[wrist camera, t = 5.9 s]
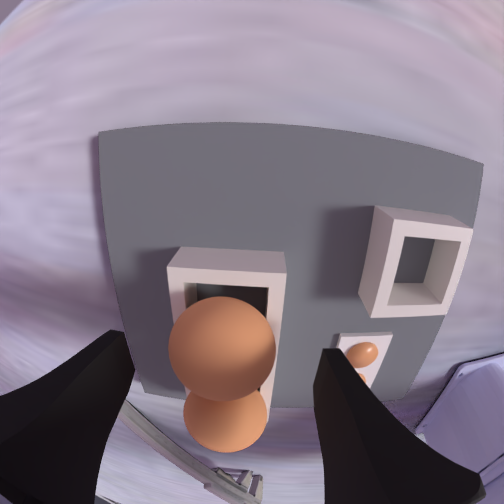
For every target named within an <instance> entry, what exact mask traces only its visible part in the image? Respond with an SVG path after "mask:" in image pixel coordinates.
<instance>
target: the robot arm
mask: <svg viewBox="0 0 504 504" xmlns="http://www.w3.org/2000/svg"><path fill="white" fill-rule="evenodd" d="M134 372H135V367H134V364H133V361H132V358H131V355H130V351H129V348H128V345H127V341H126V338H125V334H124V332H121V331H115V330H109V331H108V332H106V333H105V334H103V335H102V336H100V337H99V338H97V339H96V340H95V341H93V342H92V343H91V344H89V345H88V346H87V347H85V348H84V349H82V350H81V351H80V352H78V353H77V354H76V355H74V356H73V357H71V358H70V359H69V360H67V361H66V362H64V363H63V364H61V365H60V366H58V367H57V368H55V369H54V370H52V371H51V372H49V373H48V374H46V375H44V376H42V377H41V378H39V379H37V380H35V381H33V382H31V383H30V384H28V385H26V386H23V387H21V388H19V389H16V390H14V391H12V392H9V393H7V394H4V395H1V396H0V504H94V500H95V492H96V485H97V478H98V474H99V469H100V464H101V460H102V456H103V453H104V449H105V445H106V442H107V440H108V437H109V434H110V432H111V430H112V427H113V425H114V423H115V421H116V419H117V416H118V414H119V412H120V410H121V408H122V405H123V403H124V401H125V399H126V396H127V394H128V392H129V389H130V386H131V383H132V379H133V376H134ZM313 400H314V412H315V418H316V423H317V429H318V435H319V440H320V446H321V452H322V457H323V465H324V485H325V504H504V354H500V355H497V356H493V357H489V358H485V359H481V360H477V361H473V362H469V363H464V364H462V365H460V366H459V367H458V369H457V370H456V372H455V374H454V375H453V377H452V378H451V380H450V382H449V383H448V385H447V386H446V388H445V389H444V391H443V392H442V394H441V395H440V397H439V398H438V400H437V401H436V403H435V404H434V405H433V407H432V408H431V410H430V411H429V412H428V414H427V415H426V416H425V418H424V419H423V420H422V422H421V423H420V424H419V425H418V427H417V428H416V429H415V432H416V433H417V434H418V433H422V432H423V433H424V436H425V439H426V442H427V444H428V445H427V444H426V443H424V442H423V441H422V440H420V439H419V438H418V437H416V436H415V435H414V434H413V433H411V432H410V431H409V430H408V429H407V428H406V427H405V426H404V425H403V424H401V423H400V422H399V421H398V420H397V419H396V418H395V417H394V416H393V415H392V414H391V413H390V412H389V410H388V409H387V408H386V407H385V406H384V405H383V404H382V403H381V402H380V400H379V399H378V398H377V397H376V396H375V395H374V393H373V392H372V391H371V390H370V388H369V387H368V386H367V385H366V383H365V382H364V381H363V379H362V378H361V377H360V375H359V374H358V373H357V371H356V370H355V369H354V367H353V366H352V365H351V363H350V362H349V360H348V359H347V358H346V356H345V355H344V353H343V352H342V351H341V349H340V348H323V349H322V353H321V357H320V361H319V365H318V369H317V372H316V376H315V379H314V383H313Z"/></svg>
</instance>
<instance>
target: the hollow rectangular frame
mask: <svg viewBox="0 0 504 504" xmlns="http://www.w3.org/2000/svg"><path fill="white" fill-rule="evenodd" d="M167 275H168V284H169V293H170V301H171V308H172V315H173V322H174V324H175V322H176V320H177V319H178V317H179V316H180V315H181V314H182V313H183V312H184V311H185V310H186V309H187V308H188V307H190V306H191V305H193V304H194V303H196V302H198V301H197V286H196V283H203V284H218V285H234V286H251V287H267V294H266V308H265V319H266V320H267V322H268V323H269V325H270V327H271V329H272V331H273V334H274V337H275V344H276V357H275V362H274V365H273V368H272V371H271V373H270V375H269V376H268V378H267V379H266V381H265V382H264V383H263V384H262V385H261V386H260V387H259V390H258V391H259V393H260V394H261V395H262V397H263V399H264V401H265V404H266V408H267V422H268V418H269V411H270V405H271V398H272V391H273V384H274V377H275V370H276V362H277V354H278V347H279V339H280V330H281V322H282V313H283V305H284V295H285V286H286V276H287V272H286V264H285V257H284V252H279V251H259V250H239V249H220V248H200V247H180V249H179V250H178V251H177V253H176V254H175V256H174V257H173V258H172V260H171V261H170V263H169V264H168V265H167ZM185 391H186V396H188V395H189V393H190V392H191V391H190V390H189V389H188V388H186V387H185Z"/></svg>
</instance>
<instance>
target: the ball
mask: <svg viewBox="0 0 504 504" xmlns="http://www.w3.org/2000/svg"><path fill="white" fill-rule="evenodd" d="M168 351H169V359H170V362H171V366H172V368H173V370H174V372H175V374H176V376H177V377H178V379H179V380H180V381H181V382H182V384H183V385H184V386H185V387H186V388H188V389H189V390H190V391H192V392H193V393H195V394H196V395H198V396H200V397H203V398H206V399H209V400H214V401H232V400H237V399H240V398H243V397H246V396H248V395H249V394H251V393H253V392H254V391H256V390H257V389H258V388H259V387H260V386H261V385H262V384H263V383H264V382H265V381H266V379H267V378H268V376H269V375H270V373H271V371H272V368H273V365H274V362H275V357H276V344H275V337H274V334H273V331H272V329H271V327H270V325H269V323H268V322H267V320H266V319H265V317H264V316H263V315H262V314H261V313H260V312H259V311H258V310H257V309H256V308H254V307H253V306H252V305H250V304H248V303H246V302H244V301H242V300H239V299H236V298H232V297H221V296H219V297H211V298H207V299H204V300H201V301H198V302H196V303H194V304H193V305H191V306H190V307H188V308H187V309H186V310H185V311H184V312H183V313H182V314H181V315H180V316H179V317H178V319H177V320H176V322H175V324H174V326H173V328H172V330H171V333H170V337H169V345H168Z"/></svg>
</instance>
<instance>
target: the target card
mask: <svg viewBox="0 0 504 504" xmlns="http://www.w3.org/2000/svg"><path fill="white" fill-rule="evenodd" d="M392 337H393V334H392V332H370V333H340V335H339V339H338V343H337V346H336V348H340V349H341V351H342V352H343V353H344V355H345V356H346V358H347V359H348V360H349V362H350V363H351V365H352V366H353V367H354V369H355V370H356V371H357V373H358V374H359V375H360V377H361V378H362V379H363V381H364V382H365V383H366V385H367V386H368V387H369V388H370V387H371V385H372V383H373V381H374V379H375V377H376V375H377V372H378V370H379V368H380V366H381V363H382V361H383V359H384V356H385V354H386V352H387V349H388V347H389V344H390V342H391V339H392Z"/></svg>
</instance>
